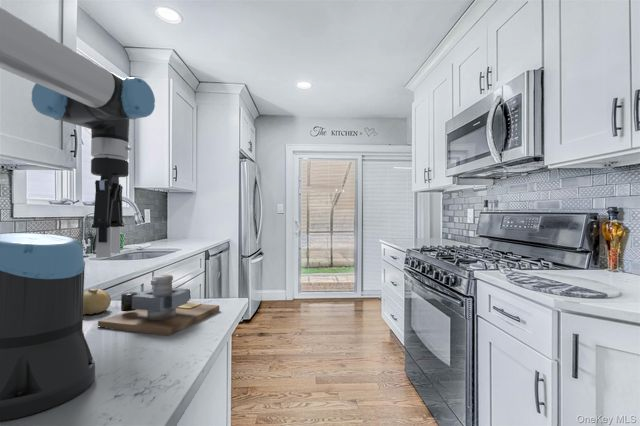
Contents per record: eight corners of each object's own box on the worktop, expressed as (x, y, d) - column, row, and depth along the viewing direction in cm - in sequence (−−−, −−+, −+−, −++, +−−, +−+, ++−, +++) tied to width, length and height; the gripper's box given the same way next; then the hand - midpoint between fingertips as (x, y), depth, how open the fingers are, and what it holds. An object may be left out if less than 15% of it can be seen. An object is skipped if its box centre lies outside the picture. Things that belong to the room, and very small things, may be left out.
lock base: (168, 335, 72) (169, 283, 72) (97, 327, 77) (98, 278, 77) (219, 310, 91) (219, 269, 91) (159, 305, 96) (160, 266, 97)
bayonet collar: (193, 308, 84) (193, 289, 84) (164, 320, 74) (164, 298, 74) (139, 303, 89) (139, 285, 89) (105, 314, 79) (105, 293, 79)
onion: (67, 316, 86) (68, 289, 86) (95, 308, 94) (95, 283, 94) (92, 318, 84) (92, 291, 84) (117, 310, 92) (118, 285, 92)
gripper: (117, 152, 69) (116, 259, 68) (136, 166, 88) (135, 250, 88) (75, 149, 66) (73, 261, 66) (104, 164, 86) (103, 251, 85)
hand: (108, 254), depth 77 cm, fingers open, 8 cm apart
